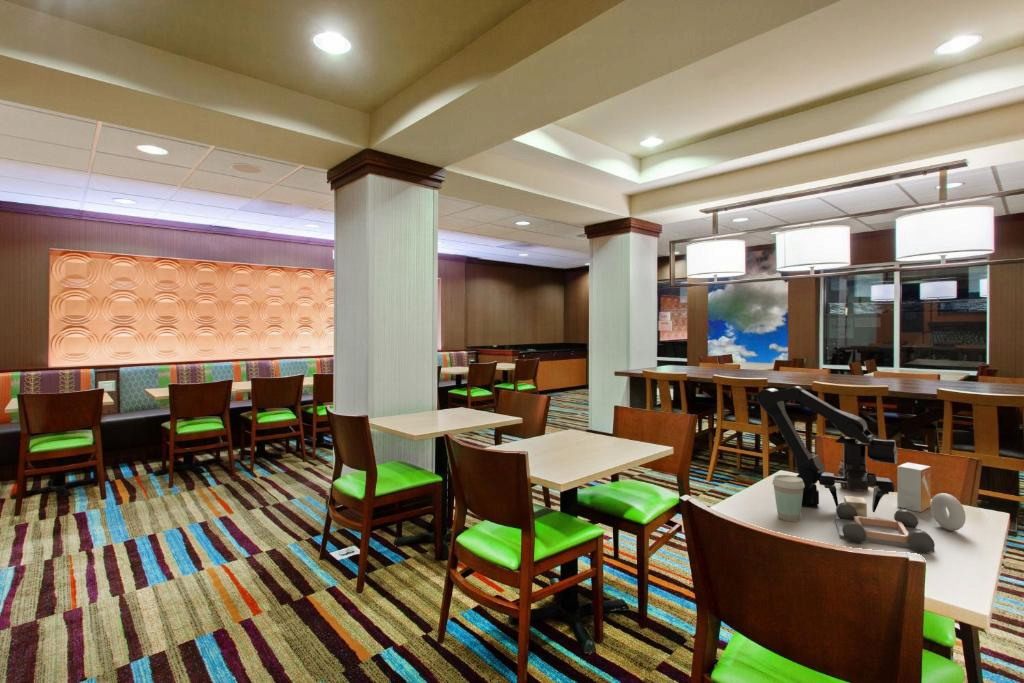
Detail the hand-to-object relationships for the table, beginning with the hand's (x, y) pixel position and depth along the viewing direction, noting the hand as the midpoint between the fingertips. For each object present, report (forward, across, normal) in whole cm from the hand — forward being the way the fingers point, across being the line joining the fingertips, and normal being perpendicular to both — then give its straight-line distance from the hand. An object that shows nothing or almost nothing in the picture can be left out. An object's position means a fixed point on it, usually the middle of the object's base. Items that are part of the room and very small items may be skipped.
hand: (855, 509), depth 154 cm
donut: (+1, +21, -4) cm, 21 cm away
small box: (+2, +17, +14) cm, 22 cm away
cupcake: (+2, +3, +29) cm, 29 cm away
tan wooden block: (+1, 0, 0) cm, 1 cm away
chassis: (+1, +4, -16) cm, 17 cm away
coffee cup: (+1, -18, -12) cm, 22 cm away
